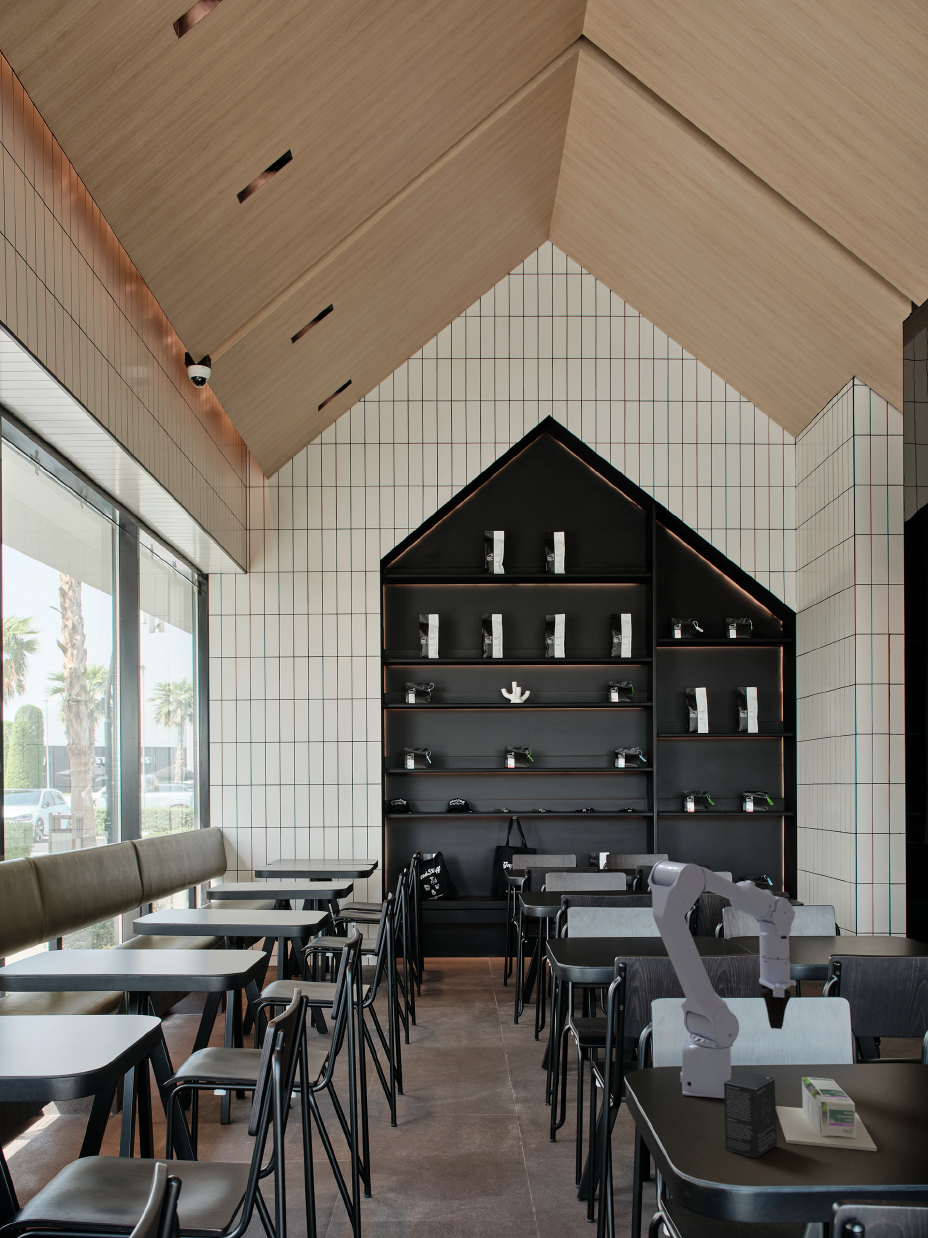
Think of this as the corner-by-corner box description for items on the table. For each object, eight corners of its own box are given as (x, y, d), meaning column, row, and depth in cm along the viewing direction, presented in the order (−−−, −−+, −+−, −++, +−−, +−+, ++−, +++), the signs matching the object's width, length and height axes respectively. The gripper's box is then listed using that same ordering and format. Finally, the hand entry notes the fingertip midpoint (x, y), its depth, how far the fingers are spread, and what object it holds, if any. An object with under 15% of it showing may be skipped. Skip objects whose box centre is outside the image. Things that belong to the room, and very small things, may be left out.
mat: (786, 1143, 167) (786, 1140, 167) (775, 1109, 184) (775, 1106, 184) (876, 1151, 164) (876, 1148, 164) (856, 1116, 181) (856, 1113, 181)
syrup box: (833, 1078, 183) (855, 1101, 168) (834, 1113, 181) (857, 1140, 167) (801, 1076, 183) (820, 1099, 169) (802, 1111, 182) (821, 1137, 168)
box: (745, 1138, 169) (744, 1071, 170) (777, 1146, 165) (776, 1078, 167) (723, 1150, 163) (722, 1080, 164) (757, 1159, 159) (755, 1088, 161)
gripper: (799, 964, 196) (801, 1038, 194) (791, 952, 210) (792, 1021, 208) (762, 962, 197) (763, 1035, 195) (755, 950, 211) (757, 1018, 209)
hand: (776, 1028), depth 202 cm, fingers closed
